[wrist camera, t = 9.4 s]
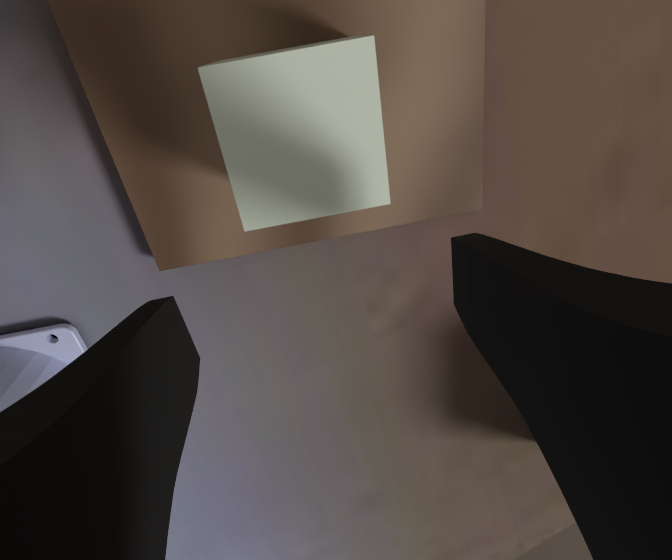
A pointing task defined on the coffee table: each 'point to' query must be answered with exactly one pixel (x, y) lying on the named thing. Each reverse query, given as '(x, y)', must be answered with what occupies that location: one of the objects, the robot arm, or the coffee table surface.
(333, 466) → the coffee table surface
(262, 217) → the sage cube
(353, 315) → the coffee table surface
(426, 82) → the walnut board
